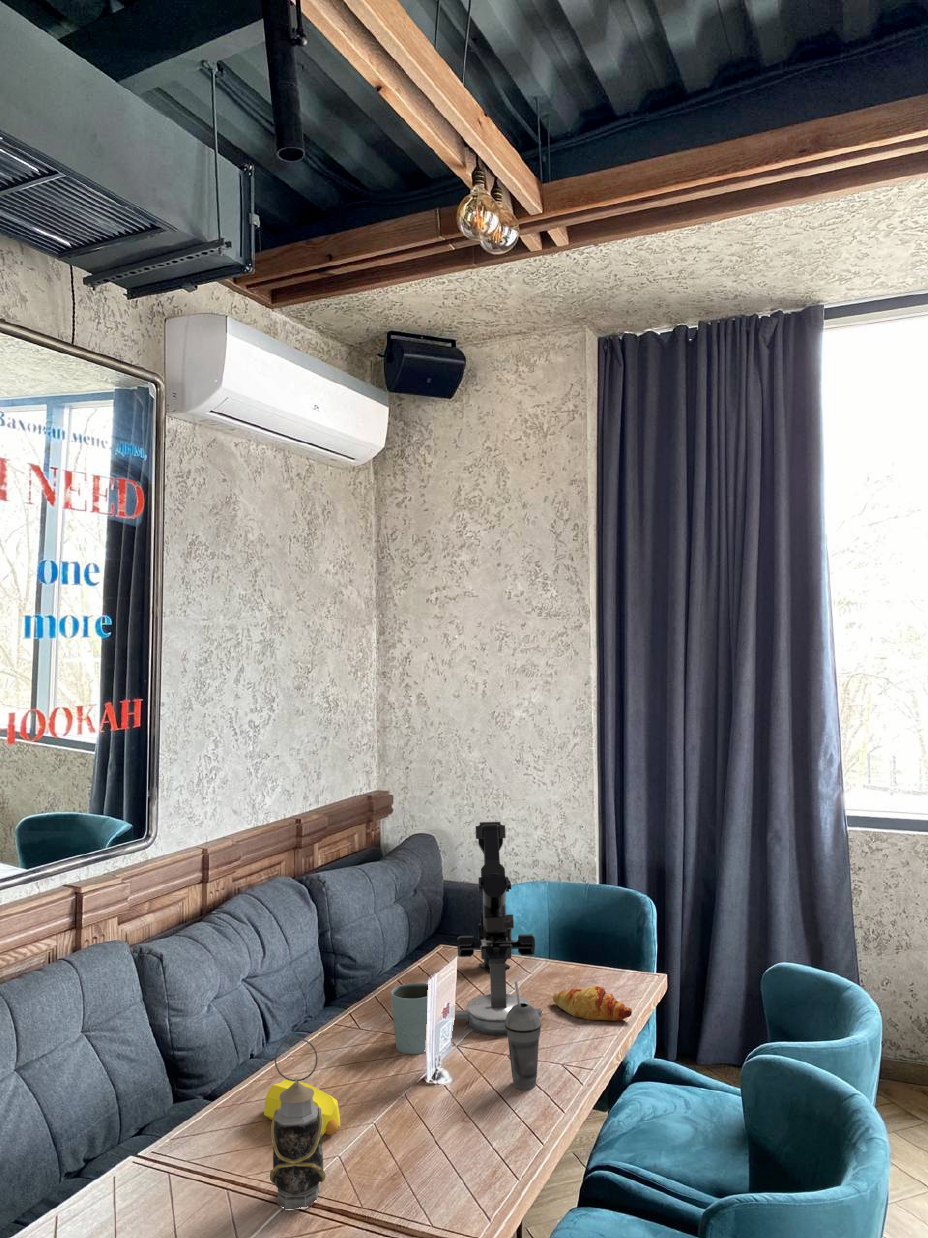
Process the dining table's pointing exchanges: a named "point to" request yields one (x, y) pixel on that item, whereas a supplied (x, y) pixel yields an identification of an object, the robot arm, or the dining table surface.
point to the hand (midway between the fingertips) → (497, 979)
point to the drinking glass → (410, 1017)
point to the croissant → (591, 1004)
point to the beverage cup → (523, 1043)
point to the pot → (486, 1024)
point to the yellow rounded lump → (319, 1099)
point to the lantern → (297, 1144)
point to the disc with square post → (494, 996)
